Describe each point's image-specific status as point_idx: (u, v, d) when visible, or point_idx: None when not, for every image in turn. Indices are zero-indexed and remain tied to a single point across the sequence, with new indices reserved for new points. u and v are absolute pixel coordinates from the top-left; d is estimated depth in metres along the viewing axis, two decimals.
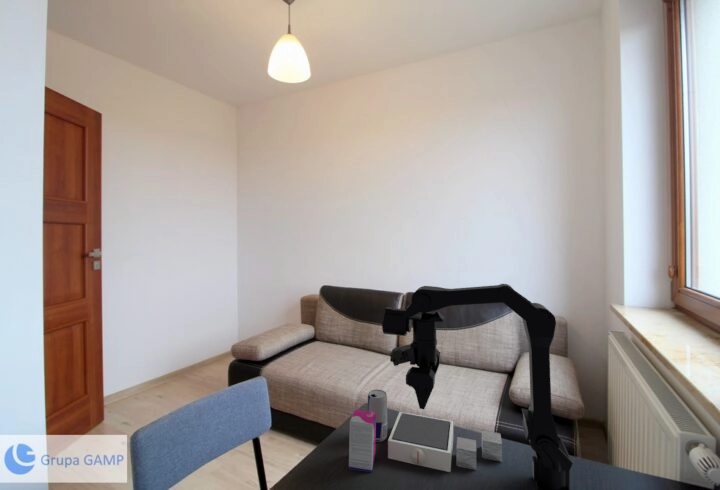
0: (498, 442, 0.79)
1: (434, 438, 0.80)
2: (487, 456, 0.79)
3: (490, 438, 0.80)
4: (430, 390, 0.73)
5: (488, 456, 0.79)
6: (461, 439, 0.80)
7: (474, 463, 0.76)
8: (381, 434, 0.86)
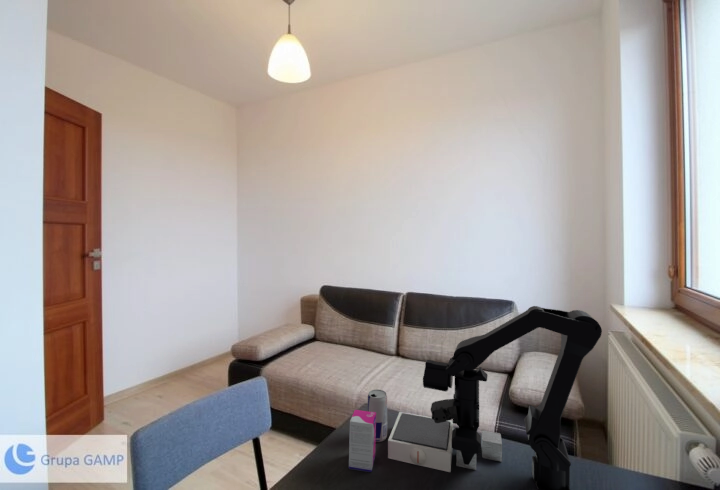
0: (498, 442, 0.79)
1: (434, 438, 0.80)
2: (487, 456, 0.79)
3: (490, 438, 0.80)
4: None
5: (488, 456, 0.79)
6: None
7: (474, 463, 0.76)
8: (381, 434, 0.86)
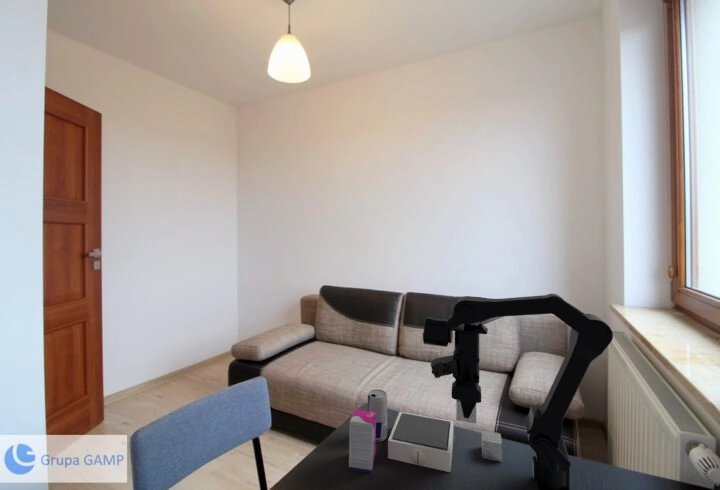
0: (498, 442, 0.79)
1: (434, 438, 0.80)
2: (487, 456, 0.79)
3: (490, 438, 0.80)
4: None
5: (488, 456, 0.79)
6: None
7: (474, 416, 0.75)
8: (381, 434, 0.86)
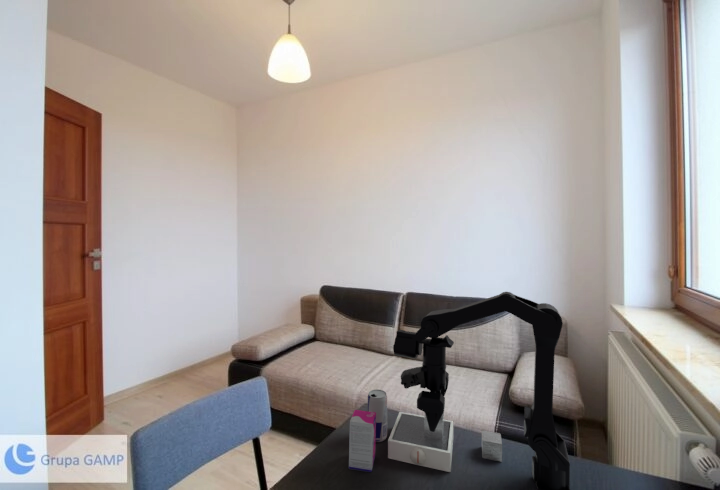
0: (498, 442, 0.79)
1: (434, 439, 0.80)
2: (487, 456, 0.79)
3: (490, 438, 0.80)
4: (440, 414, 0.76)
5: (488, 456, 0.79)
6: None
7: (440, 433, 0.80)
8: (381, 434, 0.86)
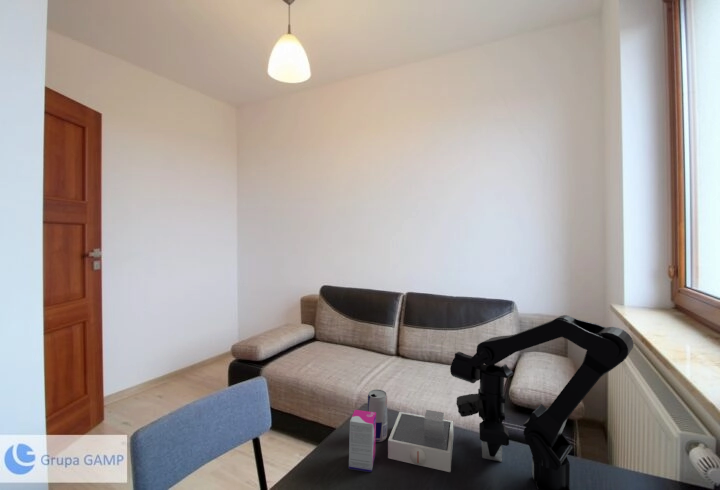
0: None
1: (434, 439, 0.80)
2: (487, 456, 0.79)
3: None
4: None
5: (488, 456, 0.79)
6: (430, 411, 0.85)
7: (440, 433, 0.80)
8: (381, 434, 0.86)
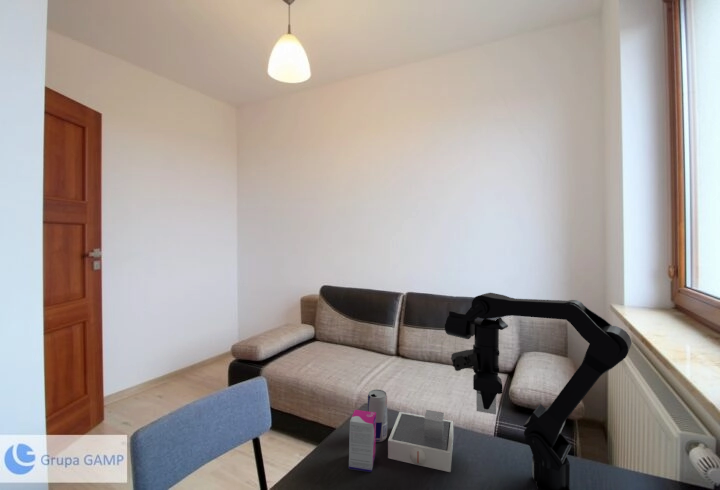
0: None
1: (434, 439, 0.80)
2: (481, 409, 0.80)
3: None
4: None
5: (482, 409, 0.79)
6: (430, 411, 0.85)
7: (440, 433, 0.80)
8: (381, 434, 0.86)
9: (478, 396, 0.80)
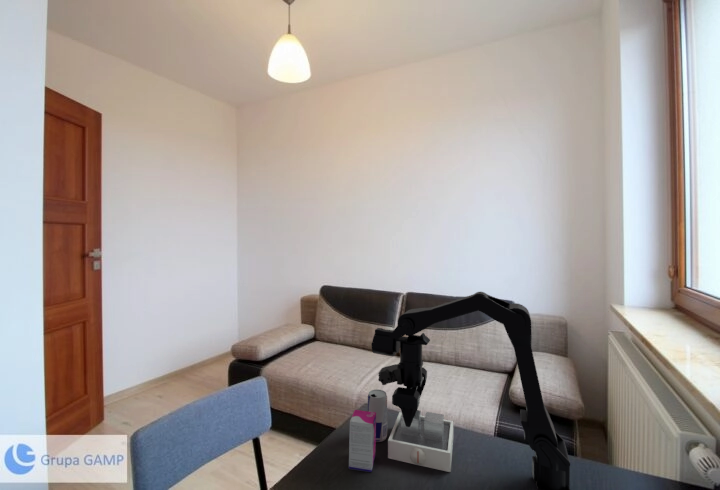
0: (415, 418, 0.82)
1: (434, 441, 0.80)
2: (405, 431, 0.83)
3: None
4: (415, 410, 0.78)
5: (406, 432, 0.83)
6: (430, 413, 0.85)
7: (440, 435, 0.80)
8: (381, 434, 0.86)
9: (402, 419, 0.83)
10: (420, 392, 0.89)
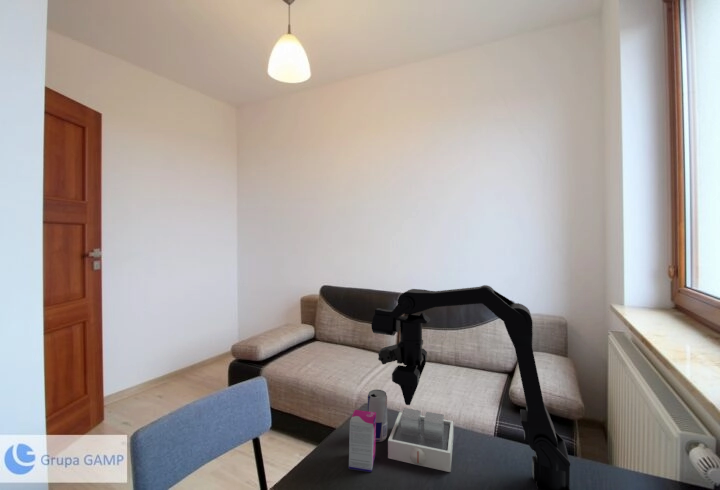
0: (415, 418, 0.82)
1: (434, 441, 0.80)
2: (405, 431, 0.83)
3: (409, 415, 0.84)
4: (415, 387, 0.78)
5: (406, 432, 0.83)
6: (430, 413, 0.85)
7: (440, 435, 0.80)
8: (381, 434, 0.86)
9: (402, 419, 0.83)
10: (420, 372, 0.89)
